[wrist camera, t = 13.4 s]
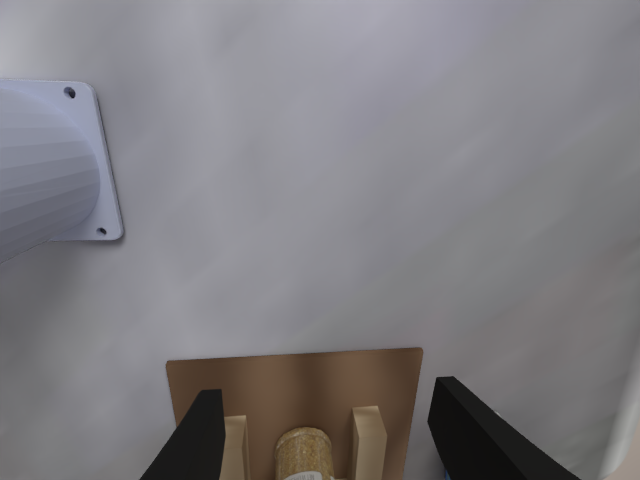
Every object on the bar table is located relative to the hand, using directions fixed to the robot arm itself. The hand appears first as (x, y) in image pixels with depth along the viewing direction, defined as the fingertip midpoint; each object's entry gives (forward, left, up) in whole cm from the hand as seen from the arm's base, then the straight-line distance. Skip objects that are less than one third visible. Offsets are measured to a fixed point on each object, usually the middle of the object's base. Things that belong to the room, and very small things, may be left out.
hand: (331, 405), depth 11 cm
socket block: (-1, -16, -10) cm, 19 cm away
